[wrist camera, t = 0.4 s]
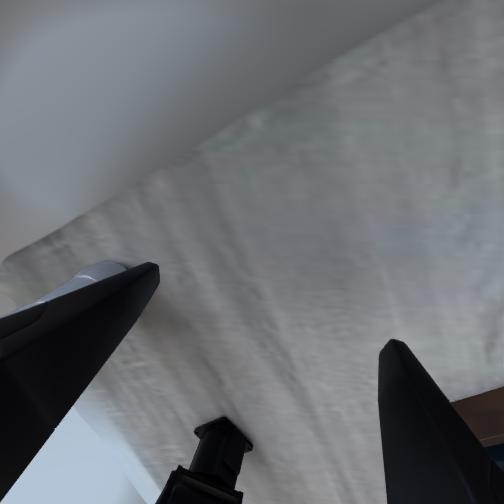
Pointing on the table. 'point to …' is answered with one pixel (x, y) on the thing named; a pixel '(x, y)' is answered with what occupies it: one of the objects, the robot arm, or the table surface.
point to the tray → (484, 416)
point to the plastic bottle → (79, 281)
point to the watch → (497, 454)
